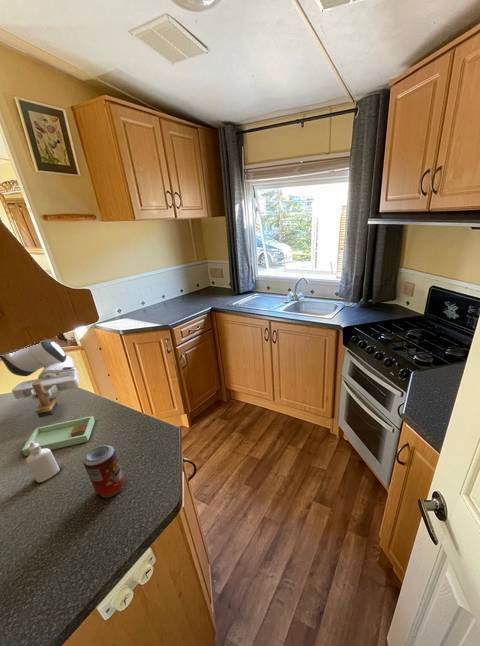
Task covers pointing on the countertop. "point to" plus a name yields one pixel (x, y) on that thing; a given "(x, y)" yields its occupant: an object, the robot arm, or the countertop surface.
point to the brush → (44, 401)
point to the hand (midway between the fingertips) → (40, 395)
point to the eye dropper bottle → (41, 462)
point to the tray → (59, 434)
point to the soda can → (104, 470)
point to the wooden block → (78, 430)
